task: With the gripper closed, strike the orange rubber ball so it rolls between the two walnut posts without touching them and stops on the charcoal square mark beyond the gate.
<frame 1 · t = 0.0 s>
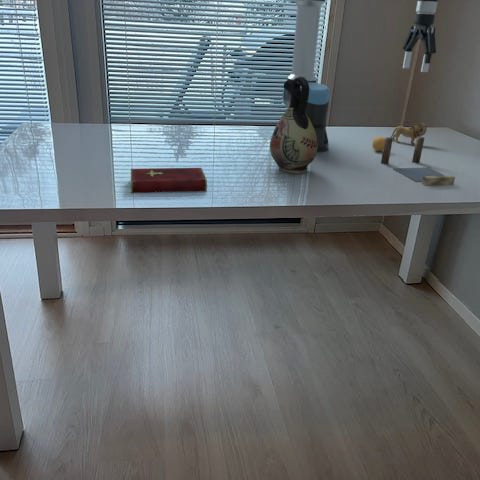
hand: (414, 70, 201), 28 cm above the table, tool pointing down, fingers open, 13 cm apart
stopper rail: (437, 184, 154), on the table
right post: (415, 162, 176), on the table
left post: (384, 163, 173), on the table
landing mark: (422, 174, 163), on the table
lion figurine: (406, 143, 203), on the table
hardcover book: (168, 187, 142), on the table
ball: (379, 144, 188), on the table
ceramic jug: (292, 171, 160), on the table
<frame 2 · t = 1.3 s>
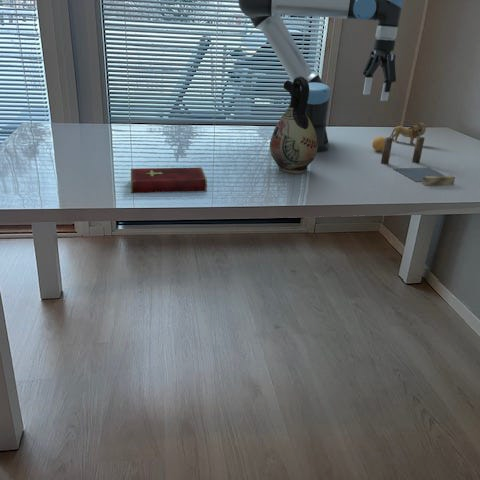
hand: (374, 97, 190), 19 cm above the table, tool pointing down, fingers open, 13 cm apart
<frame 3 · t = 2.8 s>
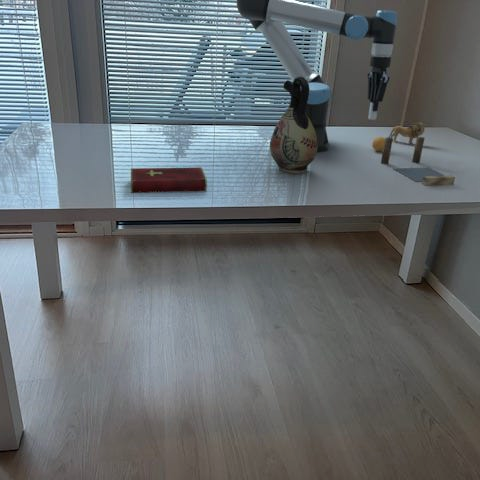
hand: (372, 119, 193), 10 cm above the table, tool pointing down, fingers closed
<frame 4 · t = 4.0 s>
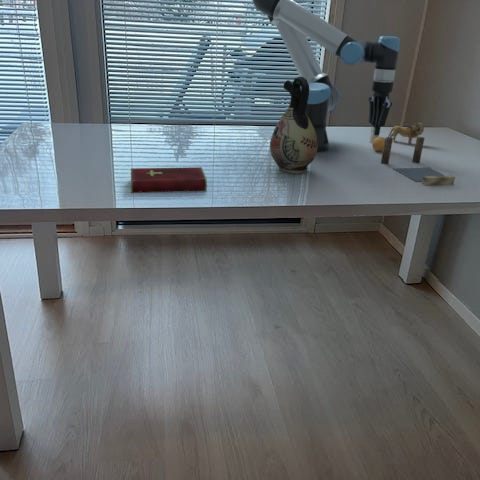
hand: (373, 142, 192), 2 cm above the table, tool pointing down, fingers closed
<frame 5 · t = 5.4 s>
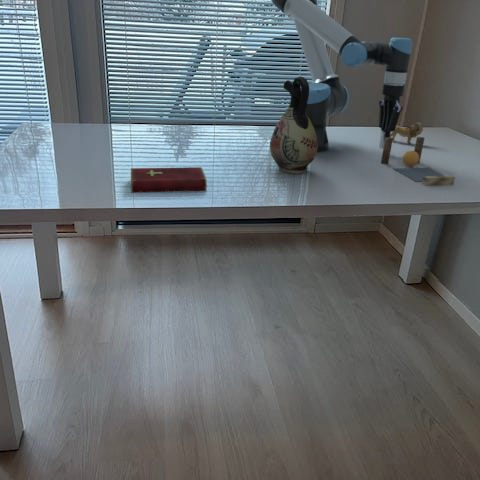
hand: (383, 148, 185), 2 cm above the table, tool pointing down, fingers closed
ball: (410, 158, 170), on the table
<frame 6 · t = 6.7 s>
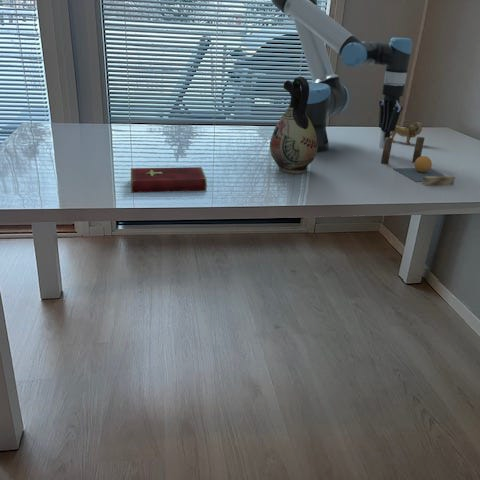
hand: (383, 148, 185), 2 cm above the table, tool pointing down, fingers closed
ball: (423, 164, 164), on the table
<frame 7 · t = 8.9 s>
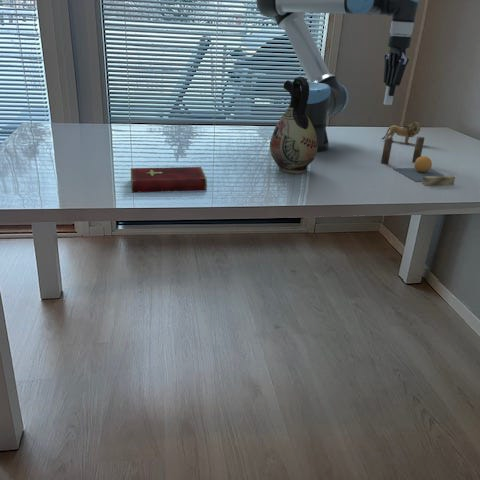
hand: (387, 104, 179), 18 cm above the table, tool pointing down, fingers closed
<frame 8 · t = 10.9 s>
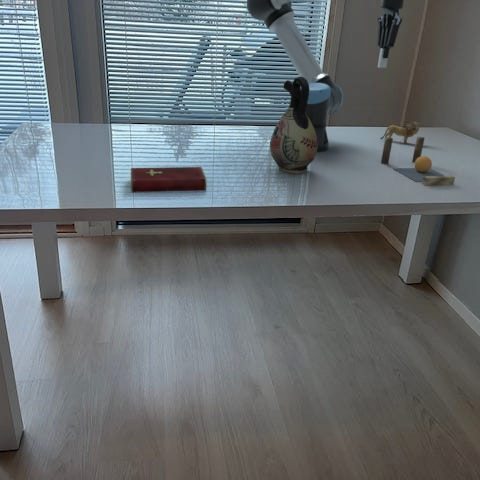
hand: (381, 67, 179), 30 cm above the table, tool pointing down, fingers closed
at the end: ball 3.0 cm from the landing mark (horizontally); ball never touched left post; ball never touched right post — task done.
